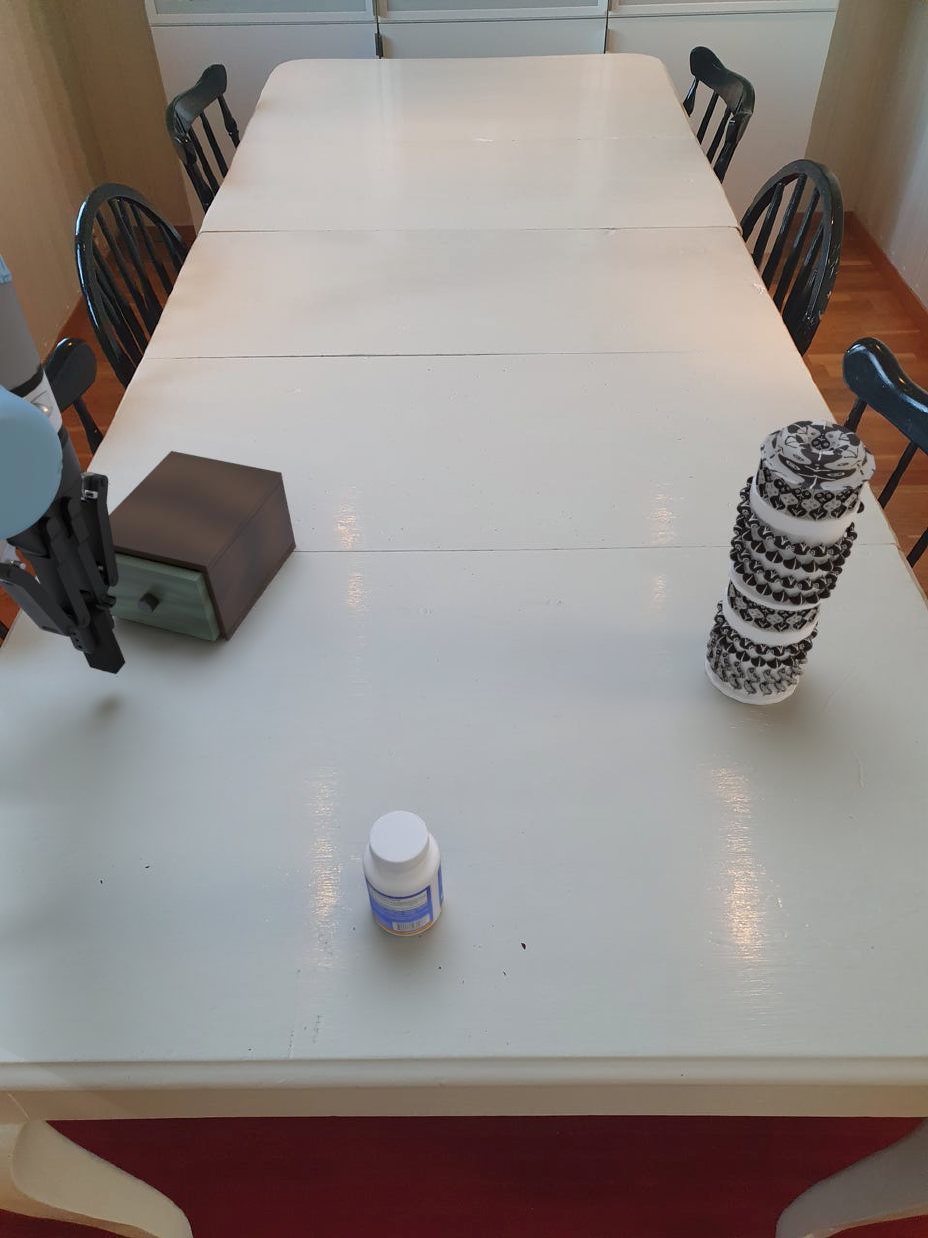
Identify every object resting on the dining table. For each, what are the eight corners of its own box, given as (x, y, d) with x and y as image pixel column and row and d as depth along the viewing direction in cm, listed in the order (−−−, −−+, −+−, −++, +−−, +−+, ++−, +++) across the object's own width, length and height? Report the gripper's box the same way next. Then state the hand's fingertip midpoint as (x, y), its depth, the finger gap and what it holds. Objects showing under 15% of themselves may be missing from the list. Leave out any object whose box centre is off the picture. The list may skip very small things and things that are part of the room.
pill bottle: (395, 860, 70) (385, 788, 63) (456, 890, 68) (452, 819, 61) (356, 918, 67) (341, 849, 60) (420, 952, 65) (411, 884, 58)
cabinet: (228, 640, 87) (206, 566, 80) (116, 612, 90) (85, 538, 83) (296, 546, 97) (281, 472, 90) (193, 523, 100) (171, 450, 93)
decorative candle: (710, 622, 87) (766, 394, 69) (809, 648, 85) (894, 417, 67) (689, 690, 81) (744, 459, 64) (795, 720, 79) (883, 488, 61)
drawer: (208, 650, 85) (188, 589, 79) (104, 624, 88) (78, 563, 82) (280, 552, 94) (266, 491, 89) (184, 531, 97) (166, 471, 92)
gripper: (-9, 502, 58) (100, 730, 75) (109, 399, 67) (183, 624, 84) (-102, 481, 60) (25, 709, 77) (25, 383, 69) (114, 607, 85)
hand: (107, 664), depth 80 cm, fingers closed
